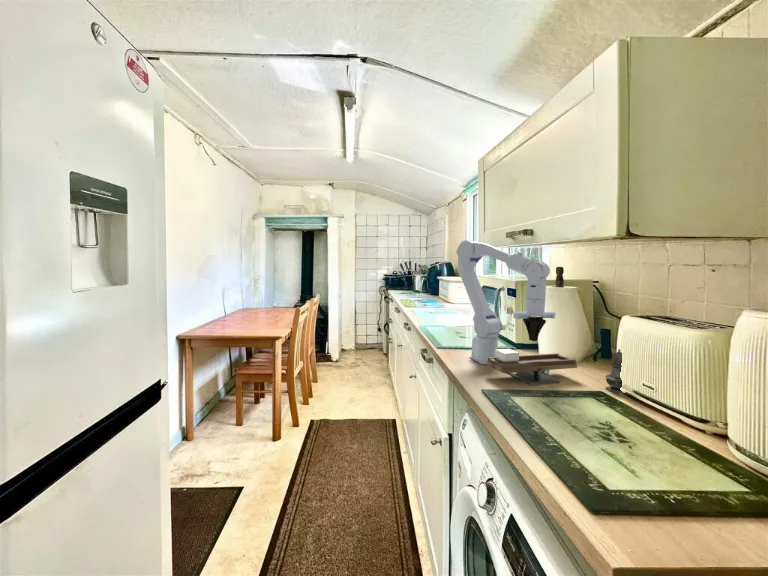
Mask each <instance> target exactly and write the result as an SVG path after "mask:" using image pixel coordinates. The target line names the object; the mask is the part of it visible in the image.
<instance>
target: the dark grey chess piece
mask: <svg viewBox="0 0 768 576" xmlns="http://www.w3.org/2000/svg"><path fill="white" fill-rule="evenodd" d="M622 353H623V352H621V349H620V348H618V350H617V351H616V352H613V354H612V360H611V361H612V362H611V363H610V365H611V371H610V374H606V375H605V376H604V377H605V380H606V384H608V386H606V387H605V388H604V389H605V390H606V391H607V390H608V391H607V392H610V393H614V394H621V395H624V394H623V392H622V391H621V390H620V388H621V387H622V380H621V378H620V372H621V367H622V366H621V363H622Z"/></svg>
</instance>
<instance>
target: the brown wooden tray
mask: <svg viewBox="0 0 768 576" xmlns="http://www.w3.org/2000/svg"><path fill="white" fill-rule="evenodd" d="M486 365H487V366H489V367H491V368H492V369H495V370H496V371H498V372H501V373H503V374H508V373H514V372H528V371H539V368H549V369H550V370H549V371H552V370H553V371H554V370H566V369H567V370H568V369H577V368H578V364H577V360H576V359H575V358H570V357H567V356H564V355H562V354H559V353H541V354H540V353H539V354H538V353H537V354H528V355H527V354H523V355H519V363H504V364H502V363H500V362H498V361H496V360H495V357H488V361H487V364H486Z"/></svg>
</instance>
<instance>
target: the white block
mask: <svg viewBox="0 0 768 576" xmlns="http://www.w3.org/2000/svg"><path fill="white" fill-rule="evenodd" d="M519 356H520V352H518V351H515V350H513V349H511V348H503V349H502V348H499V349H496V350H495V360H496V361H498V362H500V363H502V364H504V363H519Z"/></svg>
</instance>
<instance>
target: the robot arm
mask: <svg viewBox="0 0 768 576" xmlns="http://www.w3.org/2000/svg"><path fill="white" fill-rule="evenodd" d="M455 253H456V256H457V269H458V273H459V275H460V278H461V280H462V284H463V286H464V289H465V291H466V293H467V295H468V299H469V301H470V304H471V306H472V309H473V311H474V315H473V318H472V320H473V328H474V329H473V330H474V332H475V334H476V335H475V336H473V337H472V341H471V355H469V356H468V357H469V358H470V359H471V360H474V361H476V362H477V363H480V364H481V365H487V361H488V357H495V350H496V349H498V346H499V333H500V332H501V331H502V329H503V323H502V321H501V320H500V318H498V317H497V314H496V312H494V311H493V310H492V309H491V308H490V306H489V303H488V301H487V299H486V297H485V293H484V290H483V289H482V288H483V287H482V286H481V284H480V281H479V279H478V276H477V273H476V270H475V268H476V266H477V264H478V263H479V261H481V260H482V258H483V257H491V258H493V259H495V260H499V262H500V261H501V262H503V263H505V264H506V267H507V268H508V269H509V270H512V271H515V272H517V273H520V274H522V275H524V276H525V277H526V278H527V282H526V295H525V311H516V312H515V311H514V312H513V319H516V320H521V319H522V320H523V323H524V325H525V327H526V331H527V334H528V339H529V341H532V342H537V340H538V339H539V338H538V337H539V335H540V334H541V330H542V329H543V327H544V325H546V322H547V320H546V319H551V320H553V319H556V312H553V311H545V307H546V295H547V278H548V277H549V275H550V272H551V269H550V266H549V264H547V263H545V261H537V258H534V257H531V258H530V257H528V256H526V255H524V253H523V252H521V251H518V252H516V251H515V252H512V253H508V252H507V251H504V250H502V249H500V248H498V247H496V246H494V245H491V244H488V243H485V242H481V241H470V240H463V241H461V242H460V243H459V245H458V246H457V249H456V252H455Z"/></svg>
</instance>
